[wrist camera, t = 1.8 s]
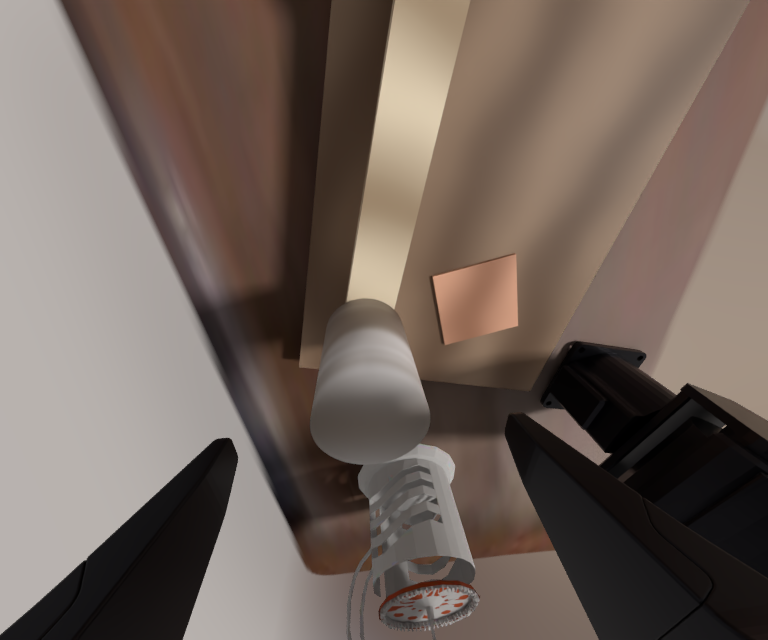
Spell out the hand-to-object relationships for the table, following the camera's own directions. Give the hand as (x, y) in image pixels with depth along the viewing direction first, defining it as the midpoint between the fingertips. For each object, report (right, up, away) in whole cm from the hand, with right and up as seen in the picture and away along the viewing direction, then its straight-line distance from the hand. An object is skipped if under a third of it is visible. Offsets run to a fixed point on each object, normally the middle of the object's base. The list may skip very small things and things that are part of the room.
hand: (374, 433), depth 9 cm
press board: (+5, +11, +7) cm, 14 cm away
